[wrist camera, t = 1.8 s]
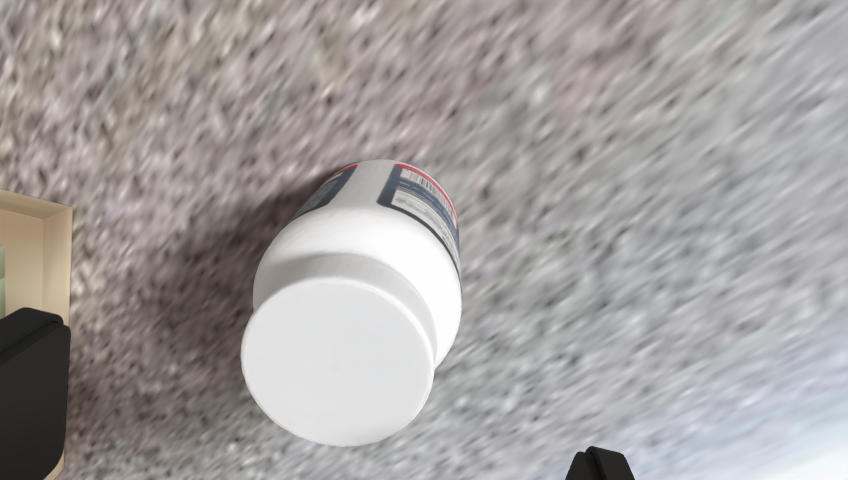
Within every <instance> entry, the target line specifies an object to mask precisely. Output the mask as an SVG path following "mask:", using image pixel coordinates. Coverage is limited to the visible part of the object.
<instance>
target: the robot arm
mask: <svg viewBox="0 0 848 480" xmlns="http://www.w3.org/2000/svg"><path fill="white" fill-rule="evenodd" d="M70 338H71V332H70V328H69V327H68V326H67V325H64V321H63V319H62V317H61V316H60V315H58V314H54V313H50V312H45V311H41V310H37V309H33V308H29V307H23V308H20V309H18V310H16V311H14V312H13V313H11V314H9V315H7V316H6V317H4V318H2V319H0V480H44V479H45V478H46V477H47V476H48V475H49V474H50V473H51V472H52V471H53V470H54V468H55V467H56V466H57V464H58V463H59V461H60V459H61V457H62V454H63V451H64V442H65V425H66V407H67V390H68V372H69V355H70ZM565 480H635V479H634V476H633V474H632V472H631V470H630V467H629V465H628V463H627V460H626V458H625V457H624V455H623V454H621V453H618V452H614V451H610V450H606V449H602V448H598V447H594V446H591V447H589V448H588V449H587V450H586V452H585V453H584V452H577V454H576V455H575V457H574V459H573V462H572V464H571V466H570V469H569V471H568V474H567V476H566V479H565Z"/></svg>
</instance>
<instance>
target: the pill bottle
mask: <svg viewBox="0 0 848 480" xmlns="http://www.w3.org/2000/svg"><path fill="white" fill-rule="evenodd" d="M461 307H462V289H461V275H460V253H459V228H458V221H457V216H456V213H455V210H454V208H453V205H452V203H451V201H450V199H449V197H448V196H447V194H446V193H445V191H444V190H443V188H442V187H441V186H440V185H439V184H438V183H437V182H436V181H435V180H434V179H433V178H432V177H430V176H429V175H428V174H426V173H425V172H423V171H422V170H420V169H418V168H416V167H414V166H412V165H409V164H406V163H403V162H399V161H394V160H387V159H376V160H367V161H362V162H358V163H355V164H352V165H349V166H347V167H345V168H343V169H341V170H339V171H338V172H336V173H335V174H334V175H333V176H331V177H330V178H329V179H328V180H327V181H325V182H324V183H323V184H322V185H321V186H320V188H319V189H318V190H317V191H316V192H315V193H314V194H313V195H312V196H311V197H310V198H309V199H308V200H307V202H306V203H305V204H304V205H303V206H302V207H301V208H300V209H299V210H298V211H297V212H296V214H295V215H294V216H293V217H292V218H291V219H290V220H289V221H288V222H287V224H286V225H285V226H284V227H283V228H282V229H281V231H280V232H279V233H278V234H277V236H276V237H275V238H274V240H273V241H272V242H271V244H270V246H269V247H268V249H267V250H266V252H265V253H264V255H263V257H262V259H261V261H260V264H259V266H258V269H257V272H256V276H255V280H254V287H253V309H254V312H253V314H252V315H251V317H250V319H249V321H248V323H247V325H246V328H245V331H244V334H243V338H242V343H241V356H240V359H241V367H242V373H243V376H244V378H245V382H246V385H247V387H248V389H249V392H250V394H251V395H252V397H253V398H254V400H255V401H256V403H257V404H258V405H259V407H260V408H261V409H262V410H263V411H264V412H265V413H266V415H267V416H268V417H269V418H271V419H272V420H273V421H274V422H275V423H276V424H278V425H279V426H281V427H282V428H283V429H285V430H287V431H289V432H290V433H292V434H294V435H296V436H298V437H301V438H303V439H305V440H308V441H311V442H315V443H318V444H324V445H331V446H339V447H347V446H360V445H366V444H370V443H374V442H377V441H380V440H383V439H385V438H387V437H389V436H391V435H393V434H395V433H396V432H398V431H399V430H401V429H403V428H404V427H405V426H406V425H407V424H408V423H409V422H410V421H411V420H412V419H413V418H414V417H415V416H416V415H417V414H418V413H419V411H420V410H421V408H422V407H423V405H424V404H425V402H426V400H427V398H428V396H429V393H430V390H431V387H432V383H433V378H434V370H435V368H436V367H437V366H438V365H439V364H440V363H441V361H442V360H443V359H444V357H445V356H446V355H447V353H448V351H449V350H450V348H451V346H452V344H453V342H454V340H455V337H456V334H457V331H458V328H459V323H460V318H461Z"/></svg>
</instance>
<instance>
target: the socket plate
mask: <svg viewBox="0 0 848 480" xmlns="http://www.w3.org/2000/svg"><path fill="white" fill-rule="evenodd" d="M72 214H73V207H70V206H66V205H62V204H58V203H54V202H50V201H46V200H42V199H38V198H34V197H30V196H26V195H22V194H18V193H14V192H10V191H6V190H2V189H0V319H2V318H4V317H6V316H7V315H9V314H11V313H13V312H14V311H16V310H18V309H20V308H23V307H29V308H33V309H37V310H41V311H45V312H50V313H54V314H58V315H60V316H61V317H62V319H63V321H64V325H67V326H68V327H69V301H70V272H71V243H72ZM64 446H65V442H64ZM63 469H64V451H63V454H62V457H61V459H60V461H59V463H58V464H57V466H56V467H55V468H54V470H53V471H52V472H51V473H50V474H49V475H48V476H47V477H46V478H45V479H44V480H54V478H55V477H56V476H57V475H58V474H59V473H60V472H61V471H62V470H63Z"/></svg>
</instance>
